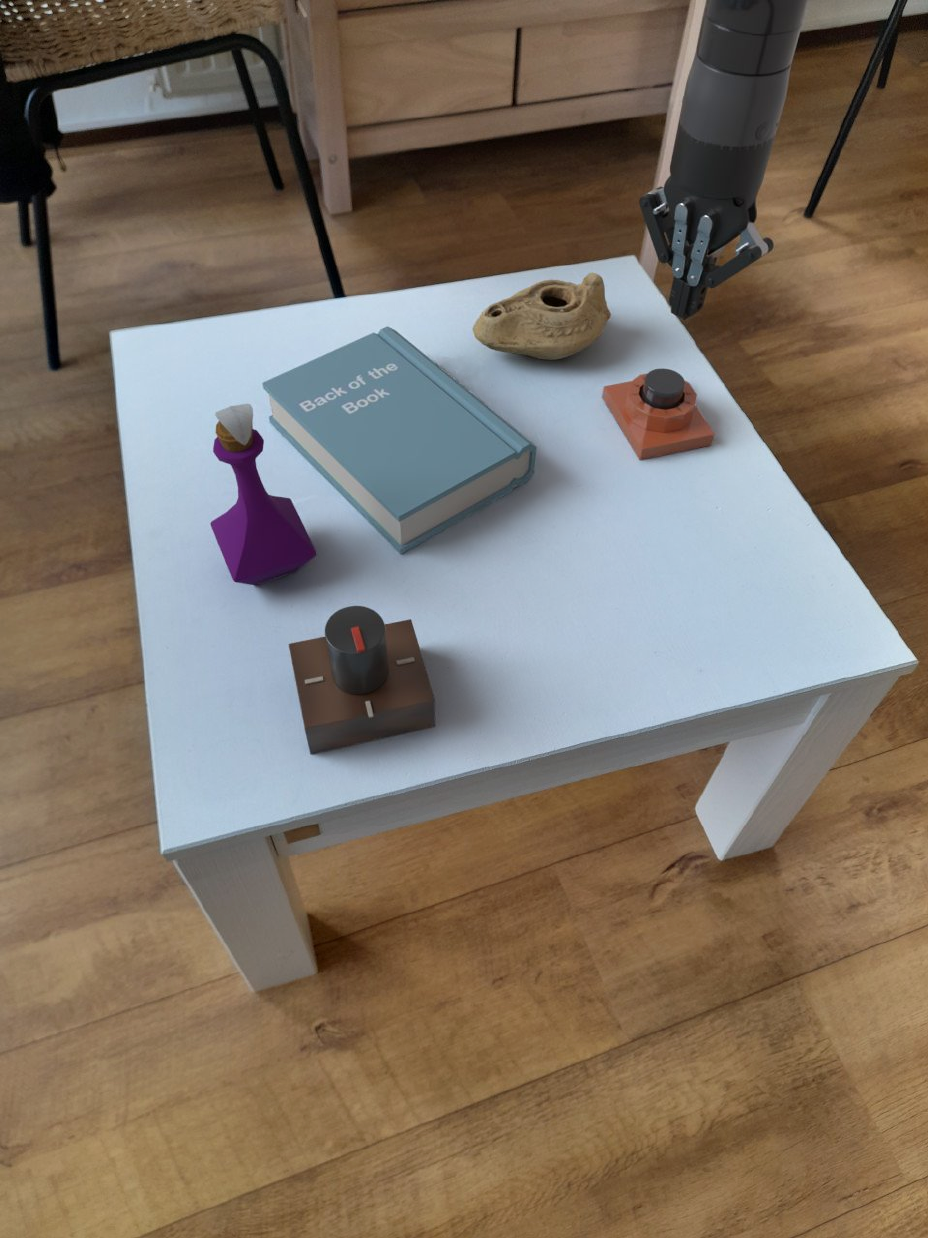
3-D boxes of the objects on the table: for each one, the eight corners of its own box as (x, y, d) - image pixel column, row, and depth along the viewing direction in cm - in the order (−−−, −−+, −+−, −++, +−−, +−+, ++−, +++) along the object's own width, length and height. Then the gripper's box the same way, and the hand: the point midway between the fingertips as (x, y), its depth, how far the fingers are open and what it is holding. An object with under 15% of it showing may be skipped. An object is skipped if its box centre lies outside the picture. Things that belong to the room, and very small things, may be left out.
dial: (326, 655, 73) (318, 610, 68) (380, 642, 74) (376, 597, 69) (338, 700, 70) (331, 657, 66) (394, 687, 71) (391, 643, 66)
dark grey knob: (687, 406, 93) (692, 389, 91) (651, 413, 92) (654, 397, 90) (670, 381, 95) (674, 365, 94) (635, 388, 94) (638, 371, 93)
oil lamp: (456, 341, 103) (457, 277, 97) (566, 302, 108) (574, 239, 102) (509, 397, 98) (513, 333, 91) (622, 353, 103) (634, 289, 96)
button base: (711, 445, 94) (720, 418, 91) (639, 460, 92) (645, 433, 90) (670, 384, 100) (676, 357, 97) (601, 397, 98) (606, 370, 95)
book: (269, 421, 95) (262, 382, 91) (396, 362, 101) (394, 322, 97) (400, 554, 84) (398, 516, 80) (533, 478, 91) (537, 439, 87)
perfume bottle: (216, 546, 85) (170, 389, 70) (294, 522, 87) (265, 364, 72) (240, 605, 81) (196, 451, 66) (321, 578, 83) (296, 423, 68)
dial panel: (411, 644, 78) (410, 614, 75) (436, 729, 73) (436, 702, 70) (294, 668, 77) (287, 639, 73) (311, 758, 72) (304, 731, 68)
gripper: (829, 133, 70) (766, 328, 84) (690, 76, 76) (652, 267, 90) (772, 167, 67) (716, 363, 81) (631, 104, 73) (602, 298, 87)
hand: (683, 312), depth 85 cm, fingers closed
